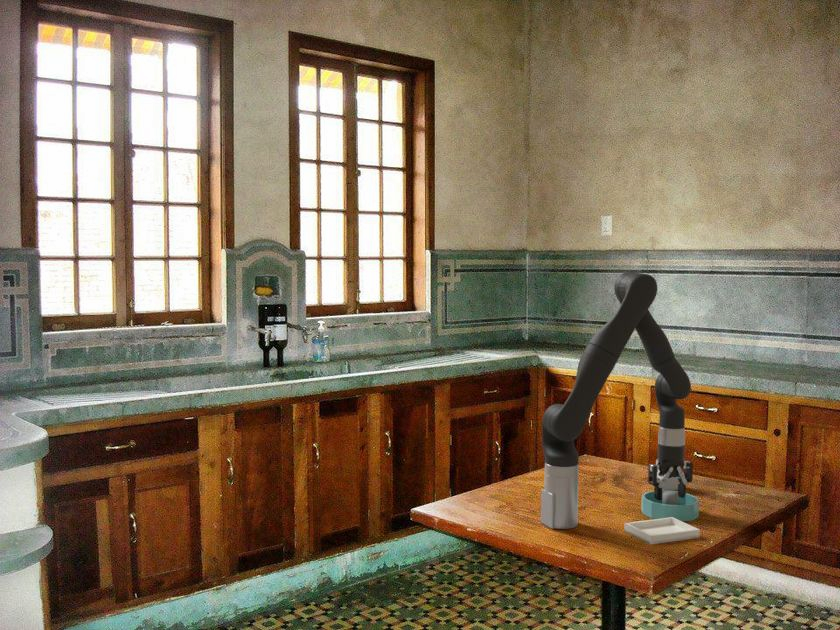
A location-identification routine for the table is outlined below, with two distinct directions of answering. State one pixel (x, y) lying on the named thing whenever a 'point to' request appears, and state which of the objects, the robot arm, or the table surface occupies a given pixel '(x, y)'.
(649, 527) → the tray
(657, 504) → the bowl
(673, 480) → the cup
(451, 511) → the table surface
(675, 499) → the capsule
